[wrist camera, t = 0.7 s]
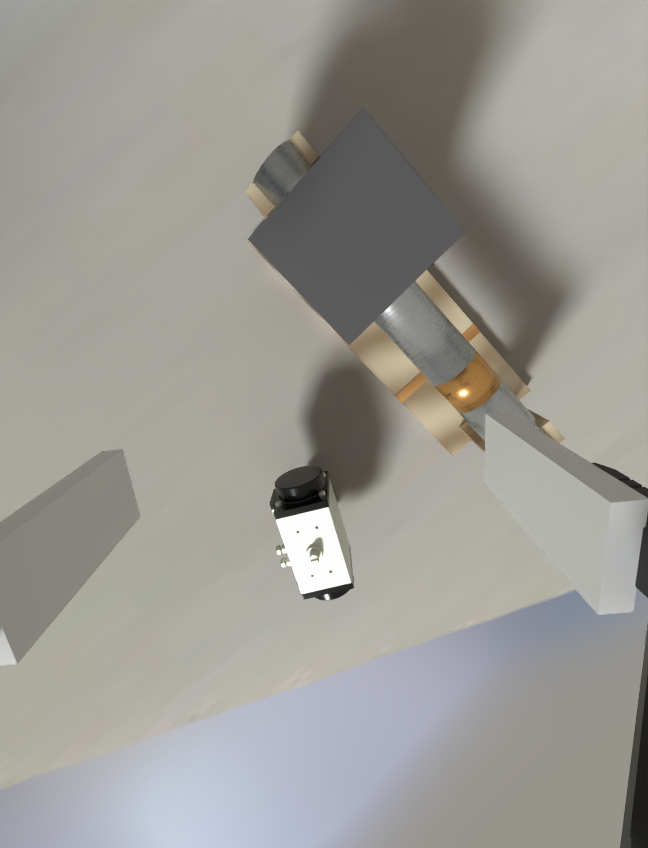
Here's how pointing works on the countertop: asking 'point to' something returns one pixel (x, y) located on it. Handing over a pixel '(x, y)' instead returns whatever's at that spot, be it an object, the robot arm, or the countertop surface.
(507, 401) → the pipe
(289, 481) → the pneumatic valve
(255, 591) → the countertop surface
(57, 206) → the countertop surface
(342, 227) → the collar
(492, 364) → the pipe rig
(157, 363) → the countertop surface
